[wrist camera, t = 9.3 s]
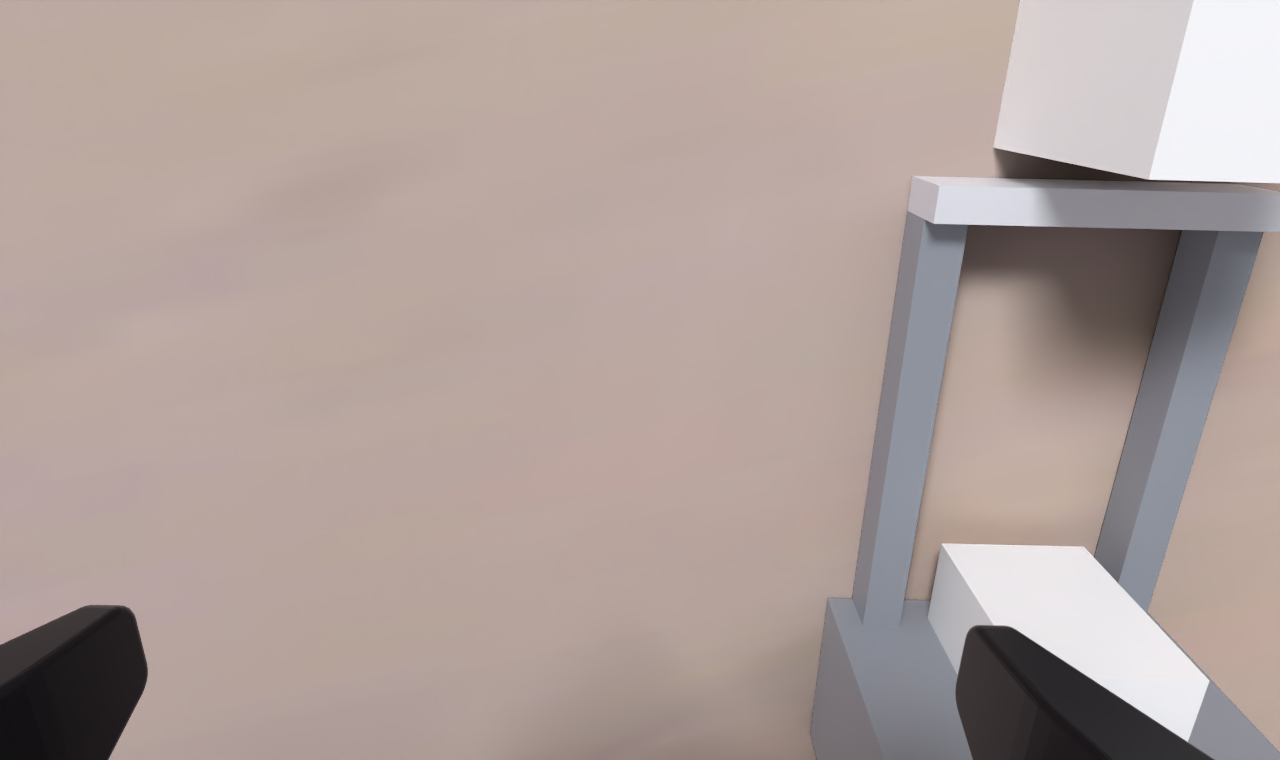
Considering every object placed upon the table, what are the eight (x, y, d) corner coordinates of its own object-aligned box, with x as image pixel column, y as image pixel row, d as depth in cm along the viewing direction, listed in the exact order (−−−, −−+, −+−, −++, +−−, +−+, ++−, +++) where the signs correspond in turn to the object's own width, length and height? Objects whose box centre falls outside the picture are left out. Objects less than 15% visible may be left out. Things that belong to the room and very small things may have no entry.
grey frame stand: (1100, 739, 24) (1236, 936, 19) (810, 732, 24) (859, 928, 19) (1267, 185, 18) (1539, 231, 13) (882, 175, 18) (987, 217, 13)
